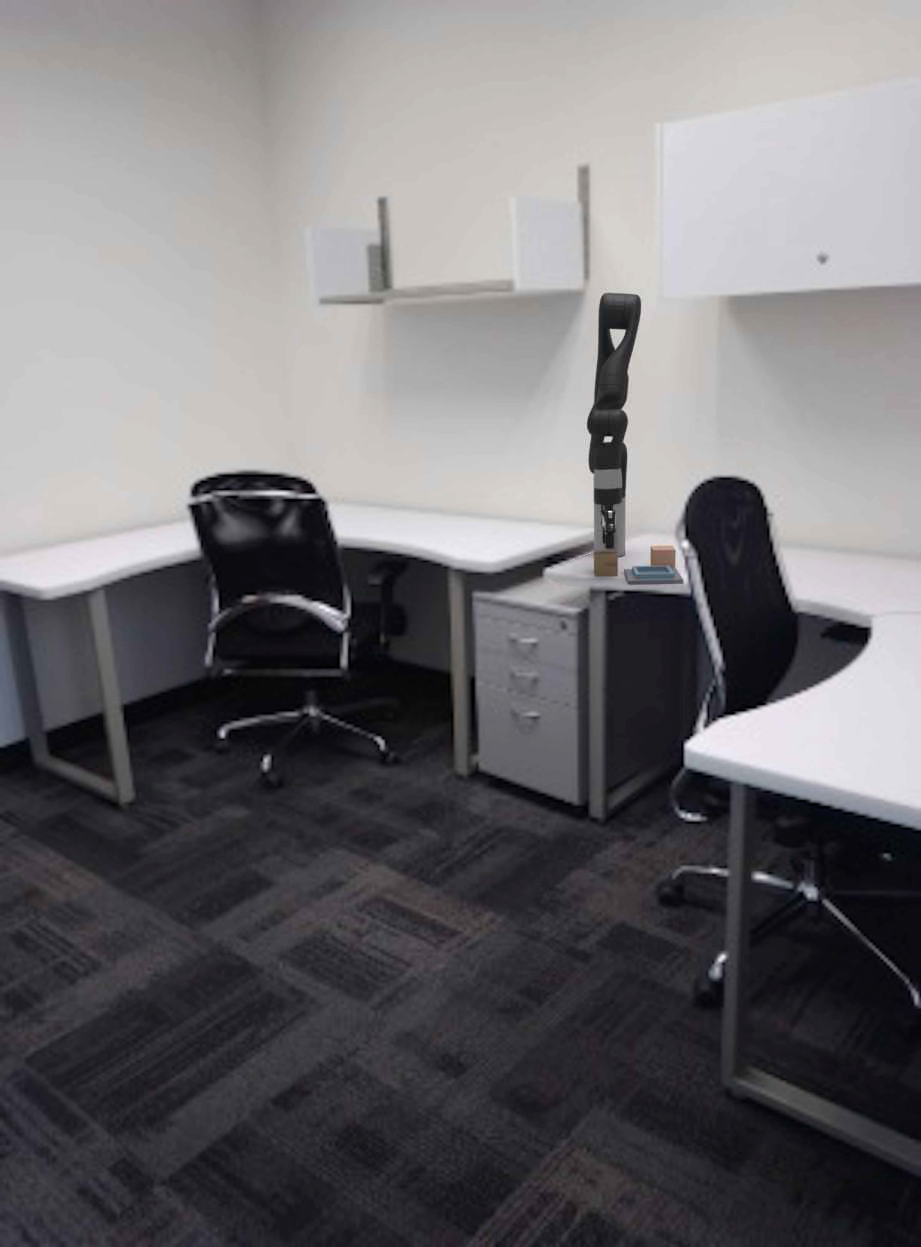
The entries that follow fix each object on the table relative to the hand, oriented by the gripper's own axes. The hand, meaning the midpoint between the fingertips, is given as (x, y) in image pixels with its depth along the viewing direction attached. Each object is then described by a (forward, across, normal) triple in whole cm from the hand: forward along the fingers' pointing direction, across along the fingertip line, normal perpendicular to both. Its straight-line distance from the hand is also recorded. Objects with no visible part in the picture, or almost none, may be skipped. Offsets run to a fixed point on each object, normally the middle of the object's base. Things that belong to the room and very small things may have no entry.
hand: (608, 545), depth 263 cm
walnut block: (+8, +1, +1) cm, 8 cm away
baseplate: (+8, -6, -11) cm, 15 cm away
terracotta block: (+8, +5, -16) cm, 18 cm away
